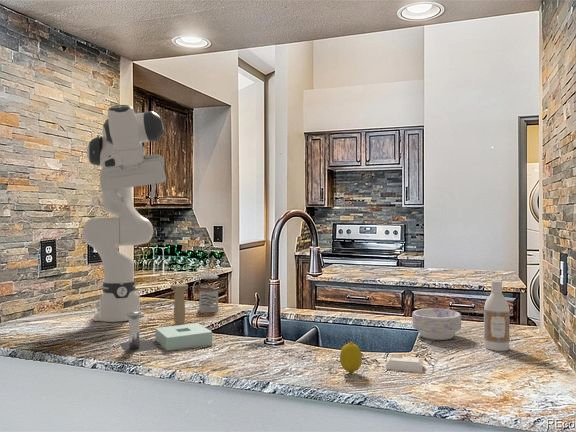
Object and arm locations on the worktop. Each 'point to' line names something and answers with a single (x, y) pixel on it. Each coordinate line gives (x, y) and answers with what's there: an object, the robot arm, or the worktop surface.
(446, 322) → the marbled white bowl
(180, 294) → the handle
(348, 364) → the lemon
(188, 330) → the hole block
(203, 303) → the french press
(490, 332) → the bath foam
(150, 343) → the mat
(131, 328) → the pin
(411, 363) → the soap bar
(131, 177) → the robot arm
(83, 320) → the worktop surface
